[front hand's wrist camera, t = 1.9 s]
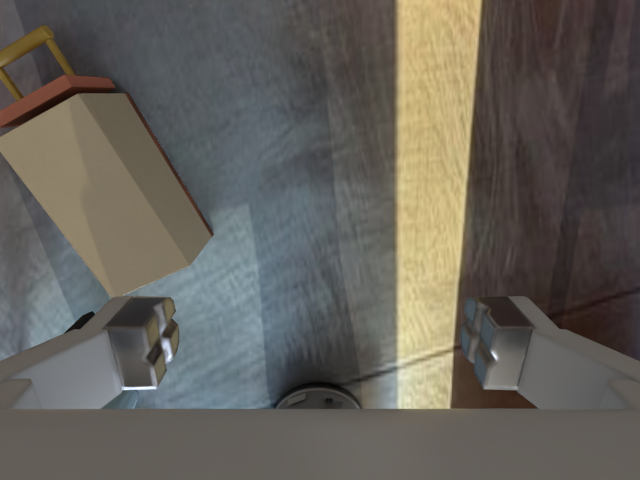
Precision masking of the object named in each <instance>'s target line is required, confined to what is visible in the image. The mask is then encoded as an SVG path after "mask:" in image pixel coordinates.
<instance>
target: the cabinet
mask: <svg viewBox="0 0 640 480" xmlns="http://www.w3.org/2000/svg"><path fill="white" fill-rule="evenodd" d="M0 152H1V153H2V154H3V156H4V157H5V158H6V160H7V161H8V162H9V164H10V165H11V166H12V168H13V169H14V170H15V171H16V173H17V174H18V175H19V177H20V178H21V179H22V181H23V182H24V183H25V185H26V186H27V187H28V189H29V190H30V191H31V192H32V194H33V195H34V196H35V198H36V199H37V200H38V202H39V203H40V204H41V206H42V207H43V208H44V210H45V211H46V212H47V213H48V215H49V216H50V217H51V219H52V220H53V221H54V223H55V224H56V225H57V227H58V228H59V229H60V230H61V232H62V233H63V234H64V236H65V237H66V238H67V240H68V241H69V242H70V244H71V245H72V246H73V248H74V249H75V250H76V251H77V253H78V254H79V255H80V257H81V258H82V259H83V261H84V262H85V263H86V265H87V266H88V267H89V269H90V270H91V271H92V272H93V274H94V275H95V276H96V278H97V279H98V280H99V282H100V283H101V284H102V286H103V287H104V288H105V289H106V291H107V292H108V293H109V295H110V296H111V297H112V298H113V297H118V296H123V295H125V294H127V293H130V292H132V291H134V290H136V289H139V288H141V287H143V286H145V285H148V284H150V283H152V282H154V281H157V280H159V279H161V278H164V277H166V276H168V275H170V274H173V273H175V272H177V271H179V270H182V269H184V268H186V267H188V266H190V265H191V263H192V262H193V261H194V260H195V258H196V257H197V256H198V254H199V253H200V252H201V250H202V249H203V248H204V246H205V245H206V244H207V242H208V241H209V240H210V238H211V237H212V236H213V235H214V234H213V232H212V230H211V229H210V227H209V225H208V224H207V222H206V220H205V219H204V217H203V215H202V214H201V212H200V210H199V209H198V207H197V206H196V204H195V202H194V201H193V199H192V197H191V196H190V194H189V192H188V191H187V189H186V187H185V186H184V184H183V182H182V181H181V179H180V177H179V176H178V174H177V172H176V171H175V169H174V167H173V166H172V164H171V162H170V161H169V159H168V158H167V156H166V154H165V153H164V151H163V149H162V148H161V146H160V144H159V143H158V141H157V139H156V138H155V136H154V134H153V133H152V131H151V129H150V128H149V126H148V124H147V123H146V121H145V119H144V118H143V116H142V114H141V113H140V111H139V109H138V108H137V106H136V105H135V103H134V101H133V100H132V98H131V96H130V95H129V93H82V94H76V95H74V96H72V97H70V98H68V99H67V100H65V101H63V102H61V103H60V104H58V105H56V106H54V107H52V108H51V109H49V110H47V111H45V112H43V113H42V114H40V115H38V116H36V117H34V118H33V119H31V120H29V121H27V122H25V123H24V124H22V125H20V126H18V127H16V128H15V129H13V130H11V131H9V132H7V133H6V134H4V135H2V136H0Z"/></svg>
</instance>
